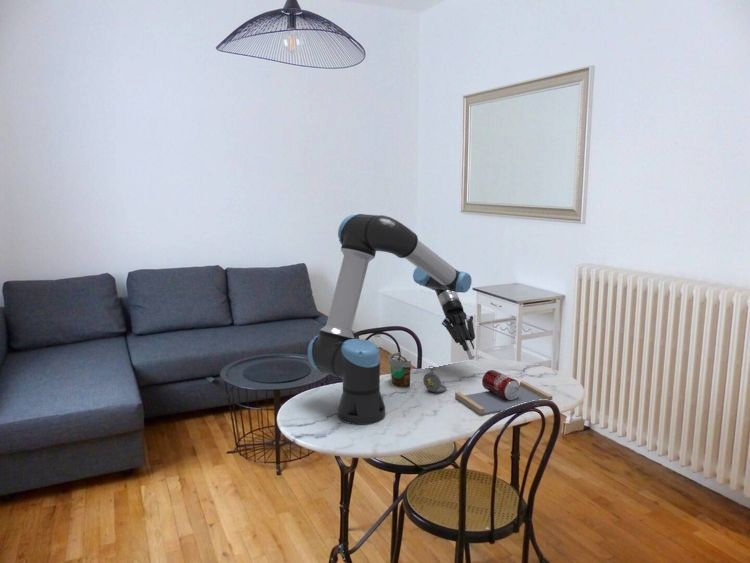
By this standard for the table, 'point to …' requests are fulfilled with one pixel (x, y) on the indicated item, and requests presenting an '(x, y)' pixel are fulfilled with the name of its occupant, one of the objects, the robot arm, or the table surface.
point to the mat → (500, 399)
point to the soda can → (501, 385)
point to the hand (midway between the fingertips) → (472, 357)
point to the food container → (400, 370)
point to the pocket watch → (433, 382)
